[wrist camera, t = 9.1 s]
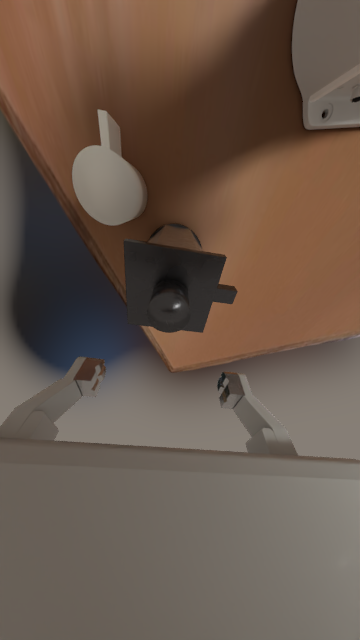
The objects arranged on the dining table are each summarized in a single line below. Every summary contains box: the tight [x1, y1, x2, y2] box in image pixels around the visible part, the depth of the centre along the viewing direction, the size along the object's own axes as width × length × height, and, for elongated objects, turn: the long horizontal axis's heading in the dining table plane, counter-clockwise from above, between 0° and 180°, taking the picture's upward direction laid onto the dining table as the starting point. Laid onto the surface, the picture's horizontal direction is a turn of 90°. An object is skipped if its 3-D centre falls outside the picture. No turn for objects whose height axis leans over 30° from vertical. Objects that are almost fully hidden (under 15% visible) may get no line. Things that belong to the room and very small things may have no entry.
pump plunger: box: [147, 280, 190, 333], centre depth 25 cm, size 4×4×21 cm
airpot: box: [124, 224, 237, 333], centre depth 27 cm, size 15×12×18 cm
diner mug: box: [72, 109, 148, 226], centre depth 24 cm, size 8×11×9 cm
